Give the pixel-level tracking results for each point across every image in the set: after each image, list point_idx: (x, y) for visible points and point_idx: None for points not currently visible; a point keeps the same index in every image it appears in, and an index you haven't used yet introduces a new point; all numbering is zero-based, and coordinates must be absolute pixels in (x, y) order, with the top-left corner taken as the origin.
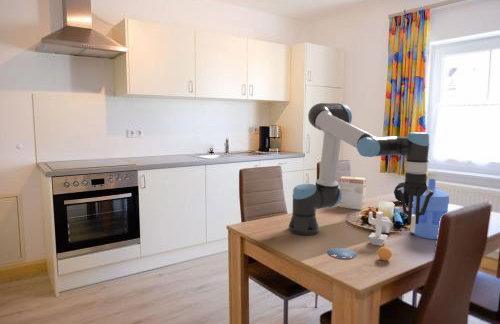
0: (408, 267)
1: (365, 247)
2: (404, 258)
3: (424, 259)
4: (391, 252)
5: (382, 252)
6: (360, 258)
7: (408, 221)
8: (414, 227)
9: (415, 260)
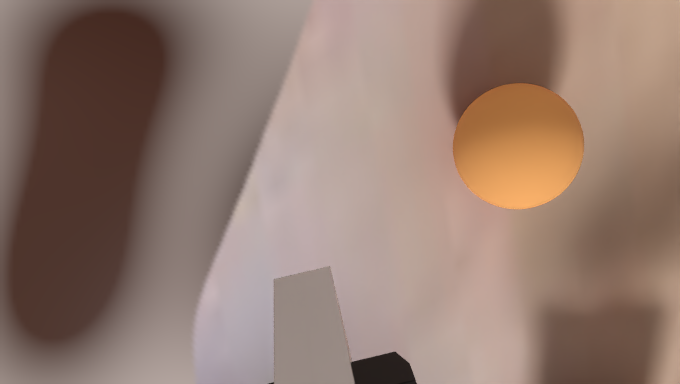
0: (295, 92)
1: (660, 300)
2: (356, 258)
3: (218, 327)
4: (465, 159)
5: (541, 95)
6: (676, 48)
7: (401, 371)
8: (283, 319)
9: (274, 268)
